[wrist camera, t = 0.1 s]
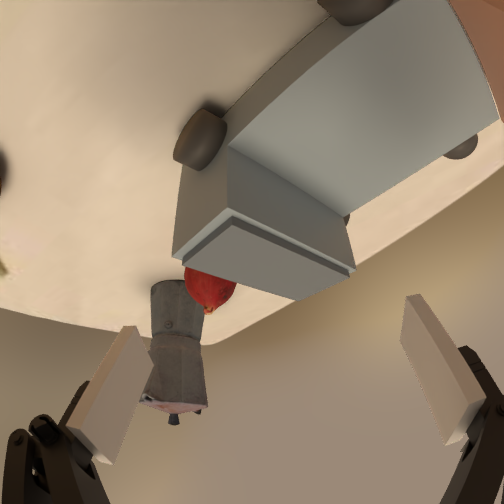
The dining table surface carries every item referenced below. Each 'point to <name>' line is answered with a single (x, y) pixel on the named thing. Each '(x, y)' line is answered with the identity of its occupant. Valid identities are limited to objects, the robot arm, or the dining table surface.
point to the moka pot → (175, 352)
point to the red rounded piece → (208, 289)
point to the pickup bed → (325, 143)
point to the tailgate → (486, 39)
